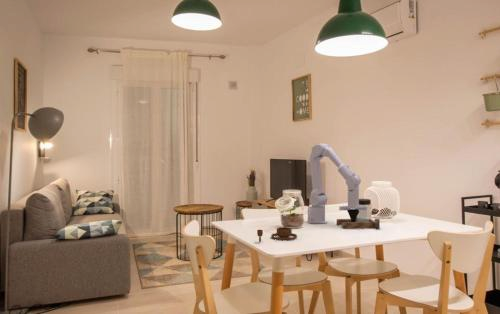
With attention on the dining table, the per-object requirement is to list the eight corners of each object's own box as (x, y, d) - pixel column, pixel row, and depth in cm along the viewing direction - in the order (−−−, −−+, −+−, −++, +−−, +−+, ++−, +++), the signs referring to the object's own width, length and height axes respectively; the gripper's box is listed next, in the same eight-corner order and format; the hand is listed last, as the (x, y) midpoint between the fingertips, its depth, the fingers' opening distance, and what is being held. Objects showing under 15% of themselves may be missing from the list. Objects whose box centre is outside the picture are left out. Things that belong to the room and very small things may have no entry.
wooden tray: (344, 229, 210) (344, 220, 210) (336, 224, 224) (336, 215, 224) (380, 229, 211) (380, 219, 211) (370, 224, 225) (370, 215, 225)
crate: (357, 227, 216) (357, 218, 216) (355, 225, 222) (355, 216, 222) (368, 227, 216) (368, 219, 216) (366, 225, 222) (366, 217, 222)
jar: (365, 222, 232) (365, 200, 231) (352, 220, 238) (352, 199, 237) (373, 220, 238) (373, 199, 238) (361, 218, 244) (361, 198, 244)
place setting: (302, 242, 184) (302, 229, 183) (257, 244, 180) (257, 231, 180) (291, 234, 201) (291, 222, 201) (251, 236, 198) (251, 224, 198)
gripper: (341, 199, 214) (341, 225, 215) (369, 198, 215) (369, 224, 215) (338, 197, 221) (338, 222, 222) (364, 197, 222) (364, 222, 223)
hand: (353, 223), depth 219 cm, fingers closed
